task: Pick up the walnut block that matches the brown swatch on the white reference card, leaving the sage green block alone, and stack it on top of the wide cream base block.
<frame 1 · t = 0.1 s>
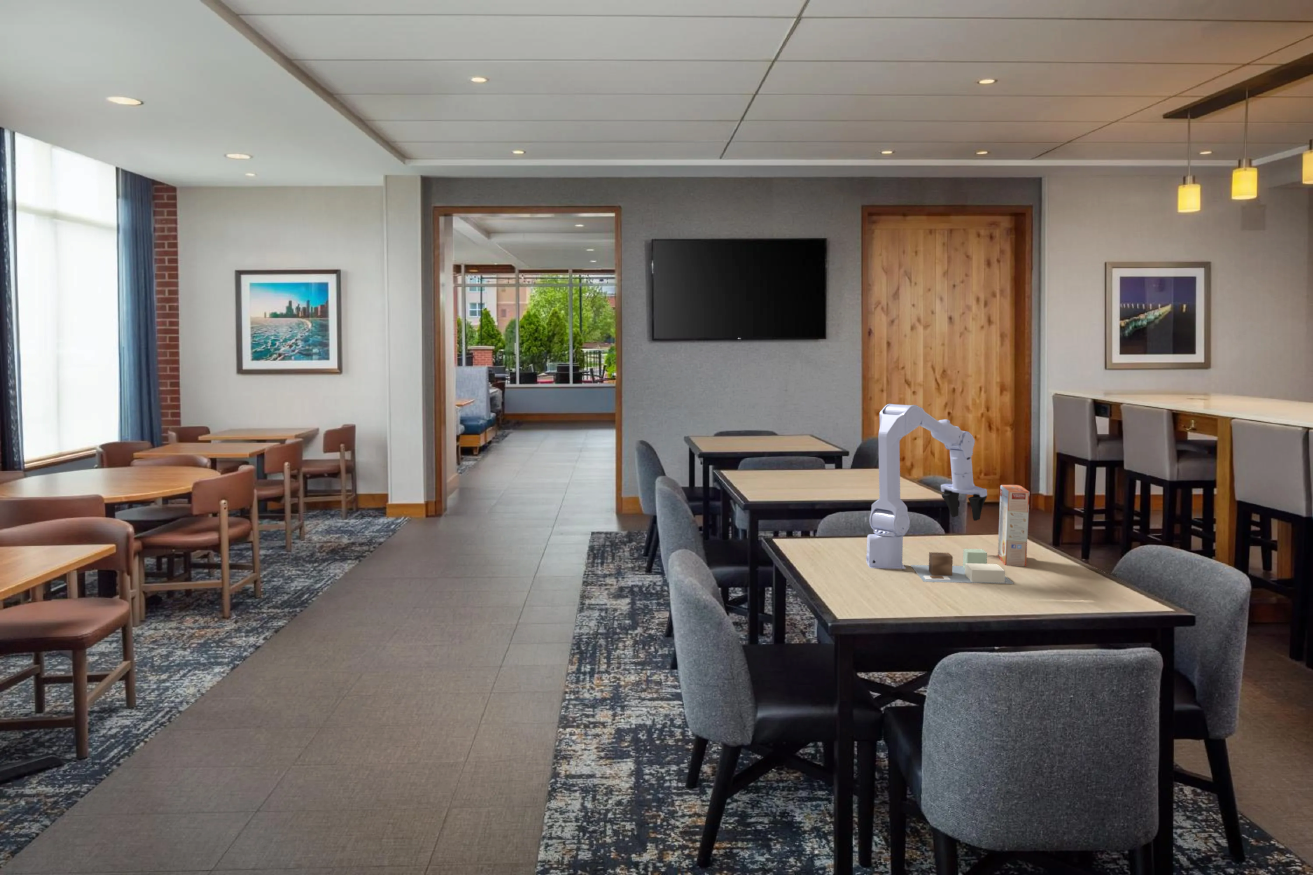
hand: (965, 517, 282), 11 cm above the table, tool pointing down, fingers open, 7 cm apart
cream base block: (984, 578, 249), on the table, touching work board
walnut block: (940, 573, 255), on the table, touching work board
sage block: (974, 569, 260), on the table, touching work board
cracker box: (1012, 563, 272), on the table
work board: (960, 575, 255), on the table
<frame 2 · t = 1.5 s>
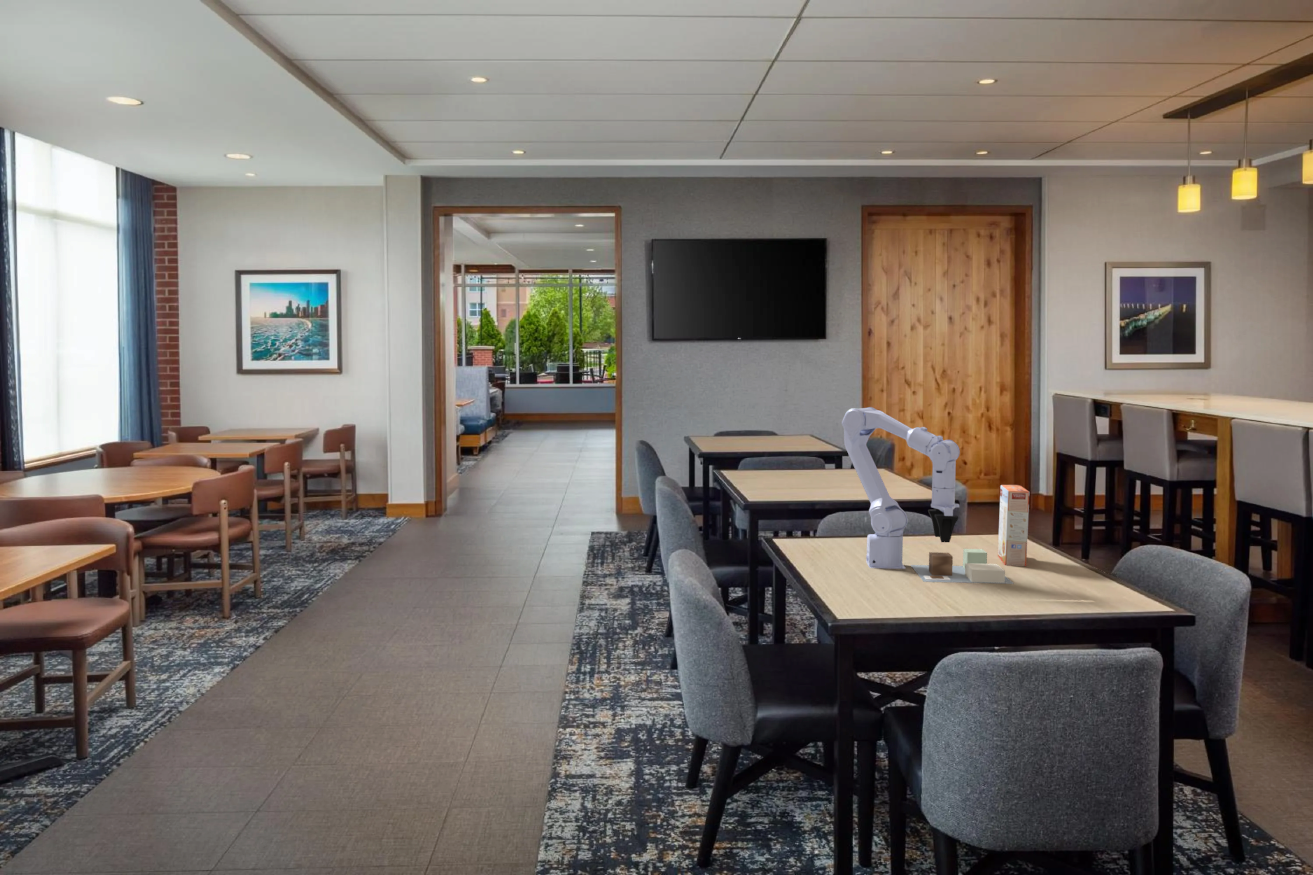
hand: (942, 539, 254), 9 cm above the table, tool pointing down, fingers open, 7 cm apart
nothing on the table moved.
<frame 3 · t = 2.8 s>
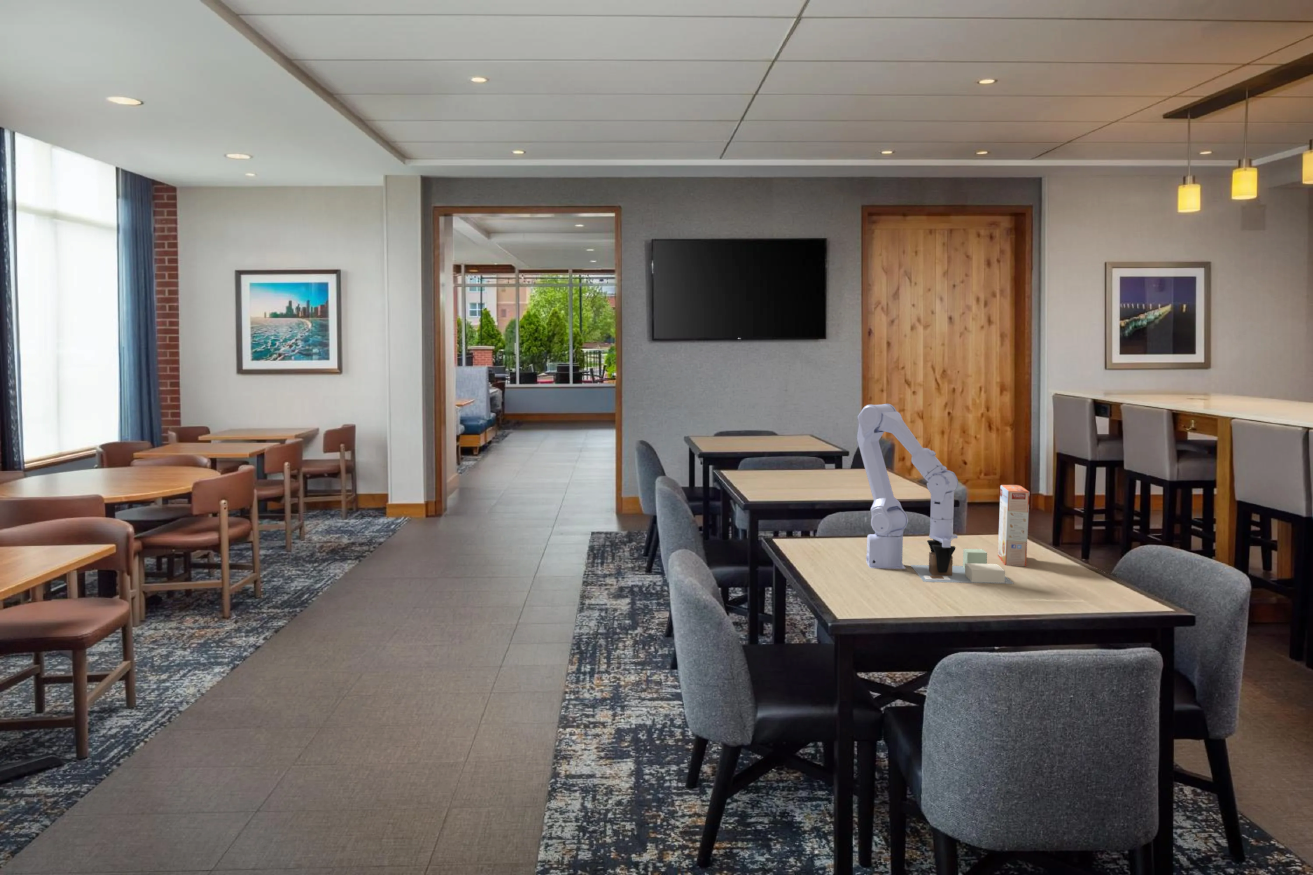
hand: (940, 569, 255), 1 cm above the table, tool pointing down, fingers closed on walnut block, 5 cm apart
walnut block: (940, 573, 255), on the table, touching gripper, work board
everything else where it was.
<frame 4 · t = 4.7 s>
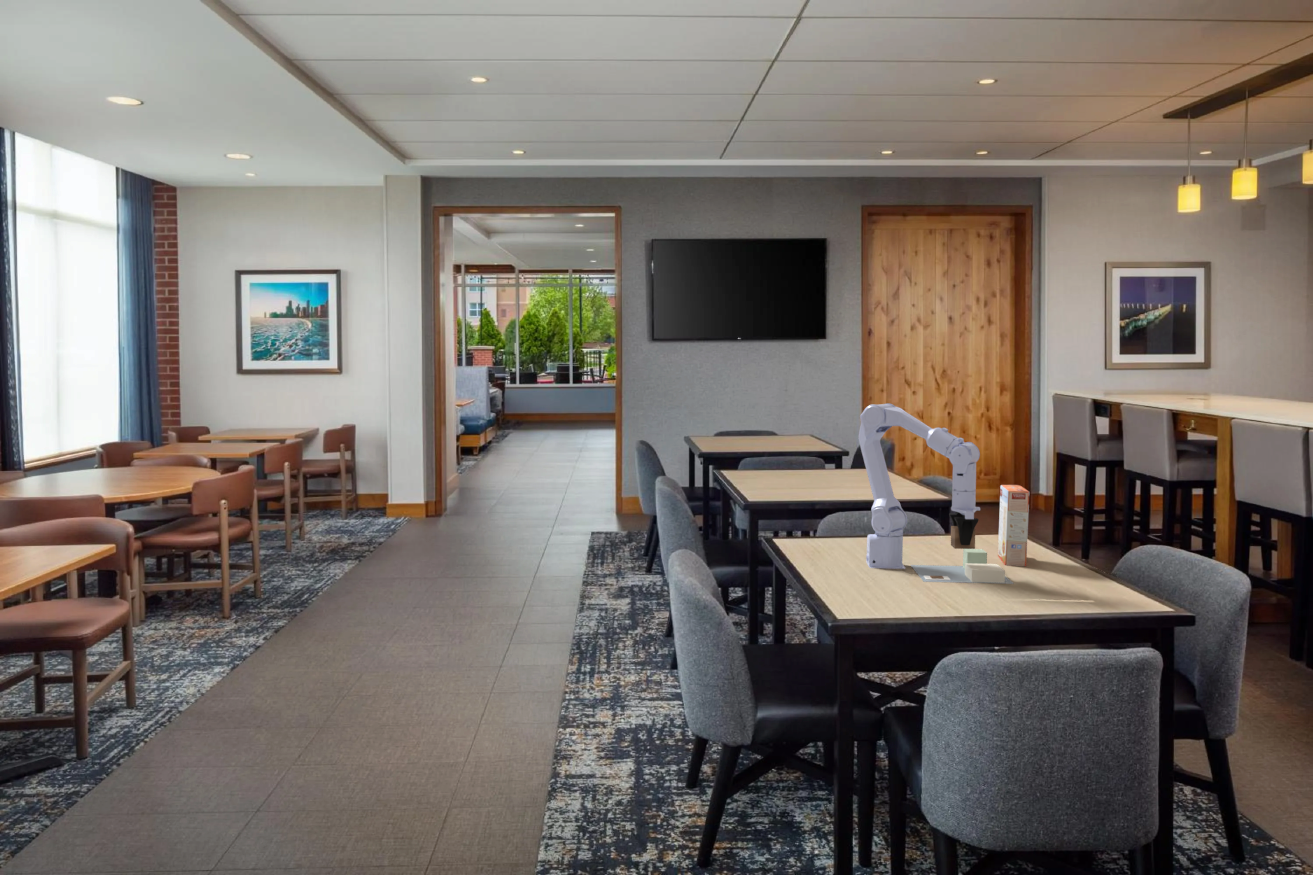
hand: (962, 542, 251), 9 cm above the table, tool pointing down, fingers closed on walnut block, 5 cm apart
walnut block: (962, 546, 251), point 8 cm above the table, touching gripper
everything else where it was.
when the fingers open (5 cm above the table, at t = 6.4 s): walnut block stays where it is, resting on cream base block.
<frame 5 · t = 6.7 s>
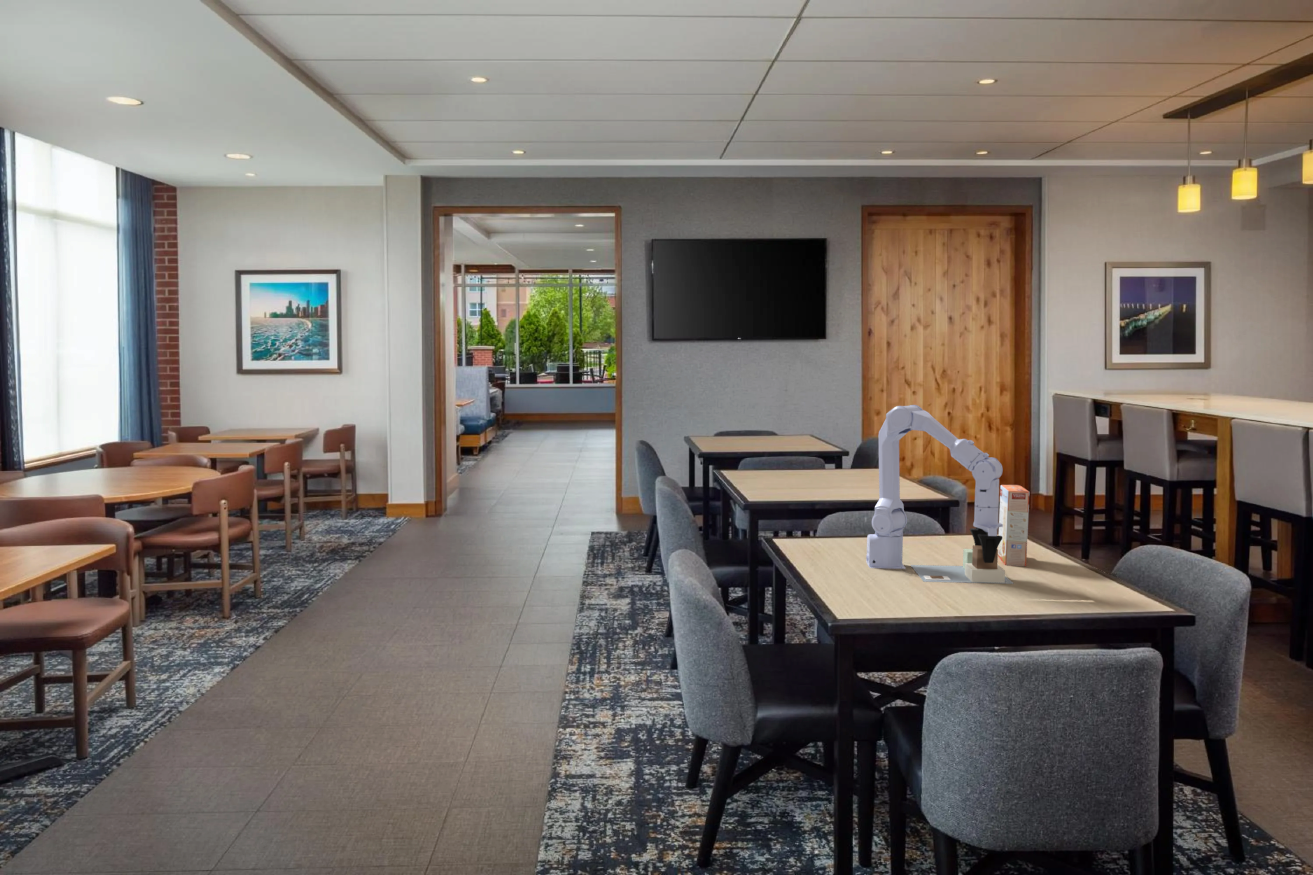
hand: (984, 559, 249), 5 cm above the table, tool pointing down, fingers open, 7 cm apart
cream base block: (984, 578, 249), on the table, touching walnut block, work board
walnut block: (984, 566, 249), point 3 cm above the table, touching cream base block
everything else where it was.
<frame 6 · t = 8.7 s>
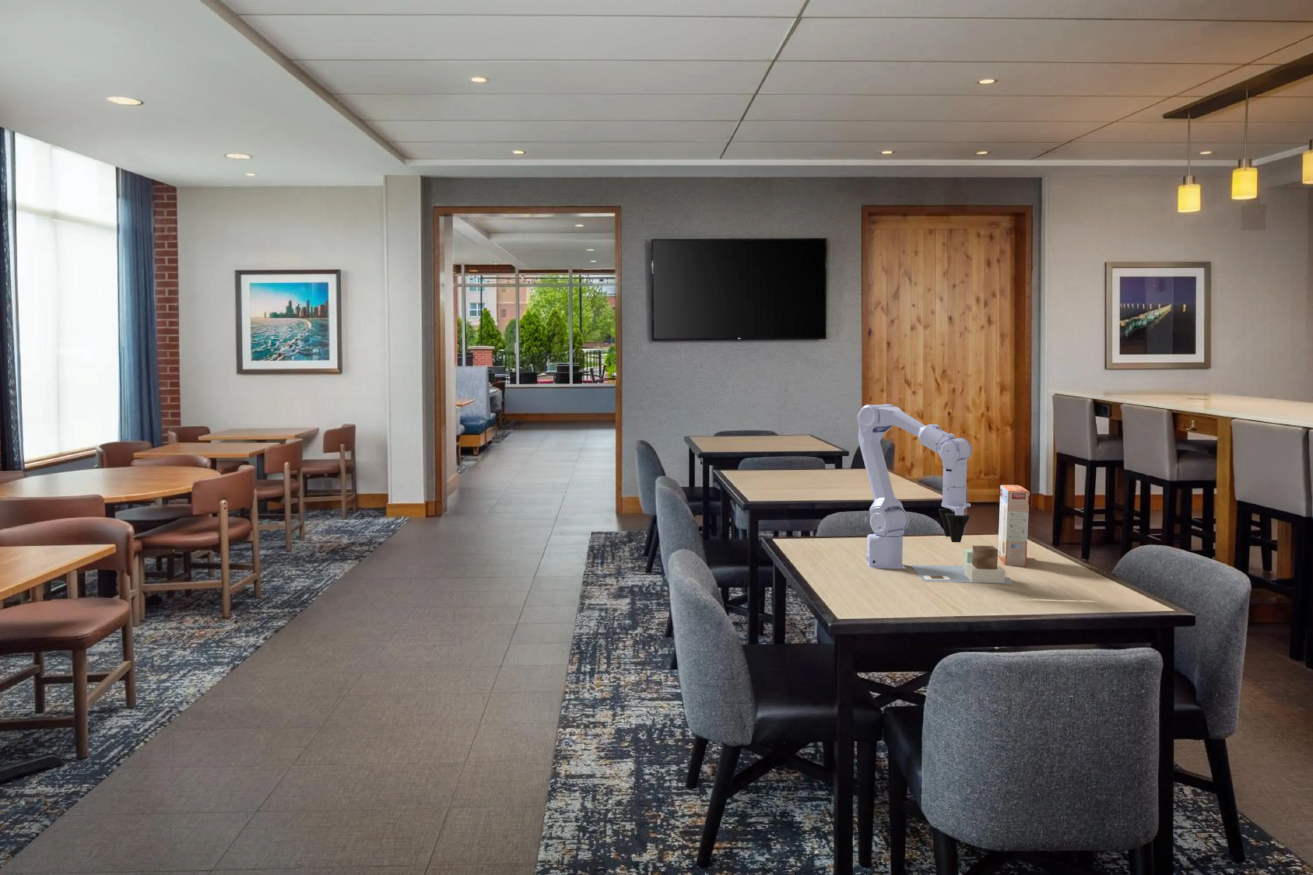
hand: (952, 539, 249), 10 cm above the table, tool pointing down, fingers open, 7 cm apart
nothing on the table moved.
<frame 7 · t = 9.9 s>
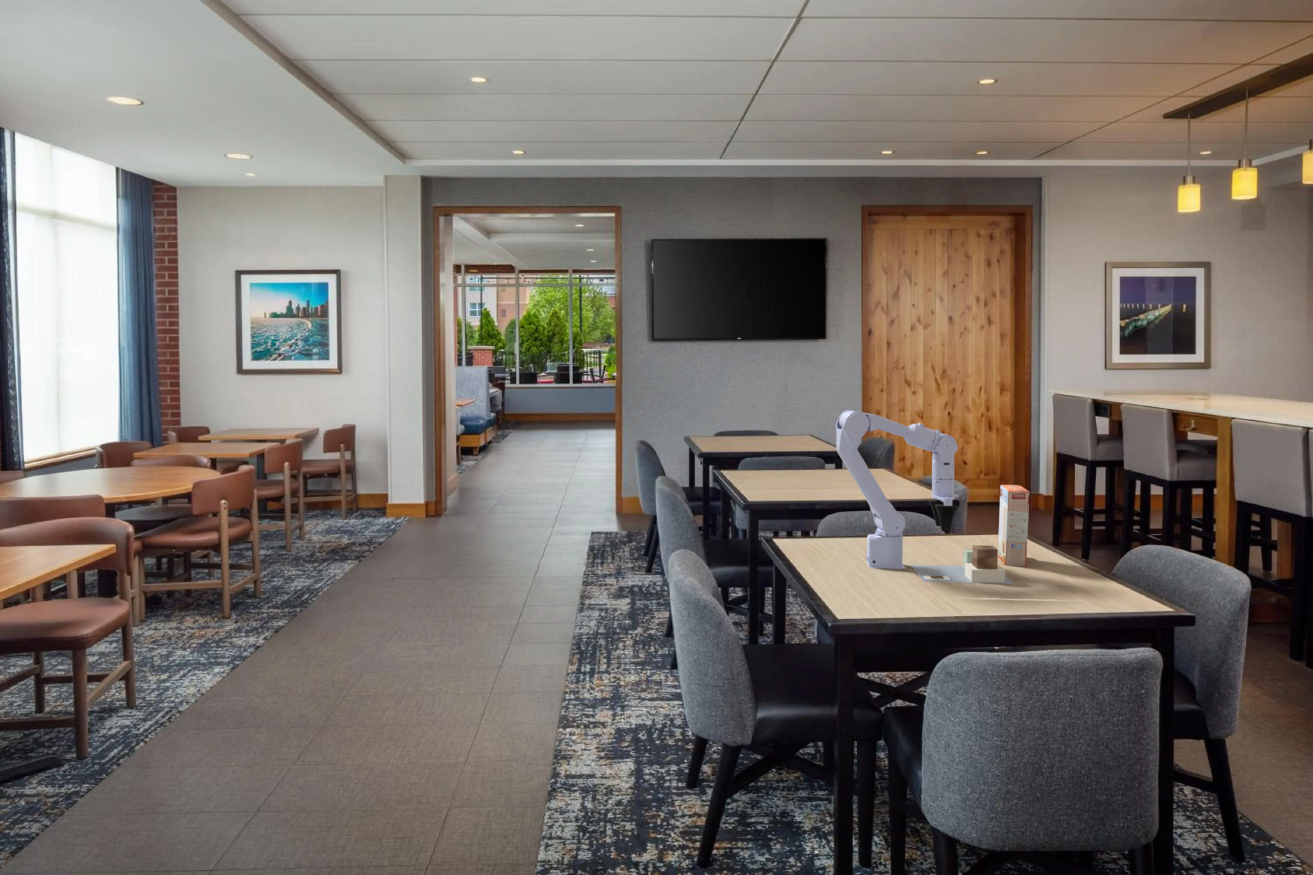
hand: (943, 528, 265), 10 cm above the table, tool pointing down, fingers open, 7 cm apart
nothing on the table moved.
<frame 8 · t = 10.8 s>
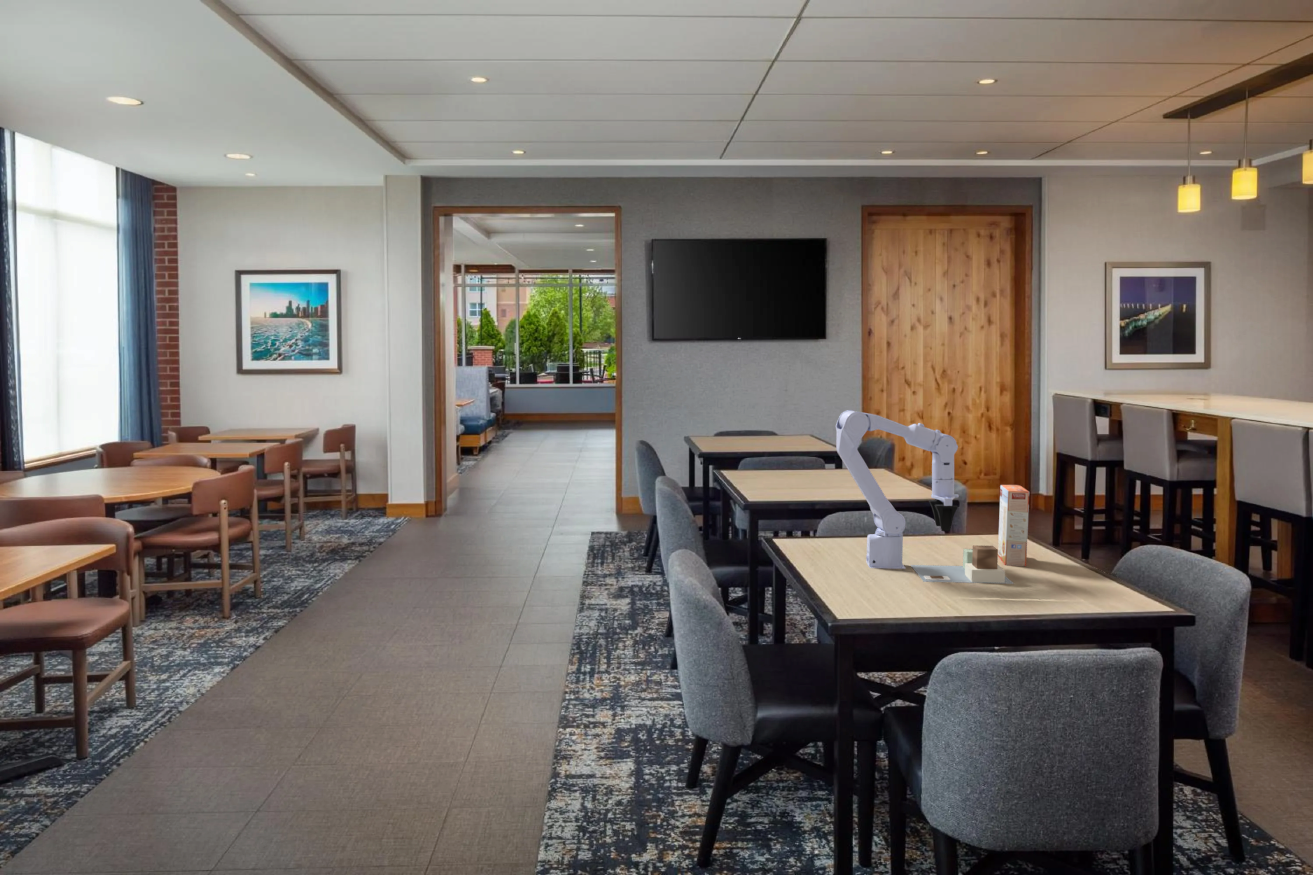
hand: (943, 528, 265), 10 cm above the table, tool pointing down, fingers open, 7 cm apart
nothing on the table moved.
at the end: walnut block 0.1 cm off-centre on the cream base block, point 3.0 cm above the cream base block's base; walnut block tilted 0°; the gripper is holding nothing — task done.
